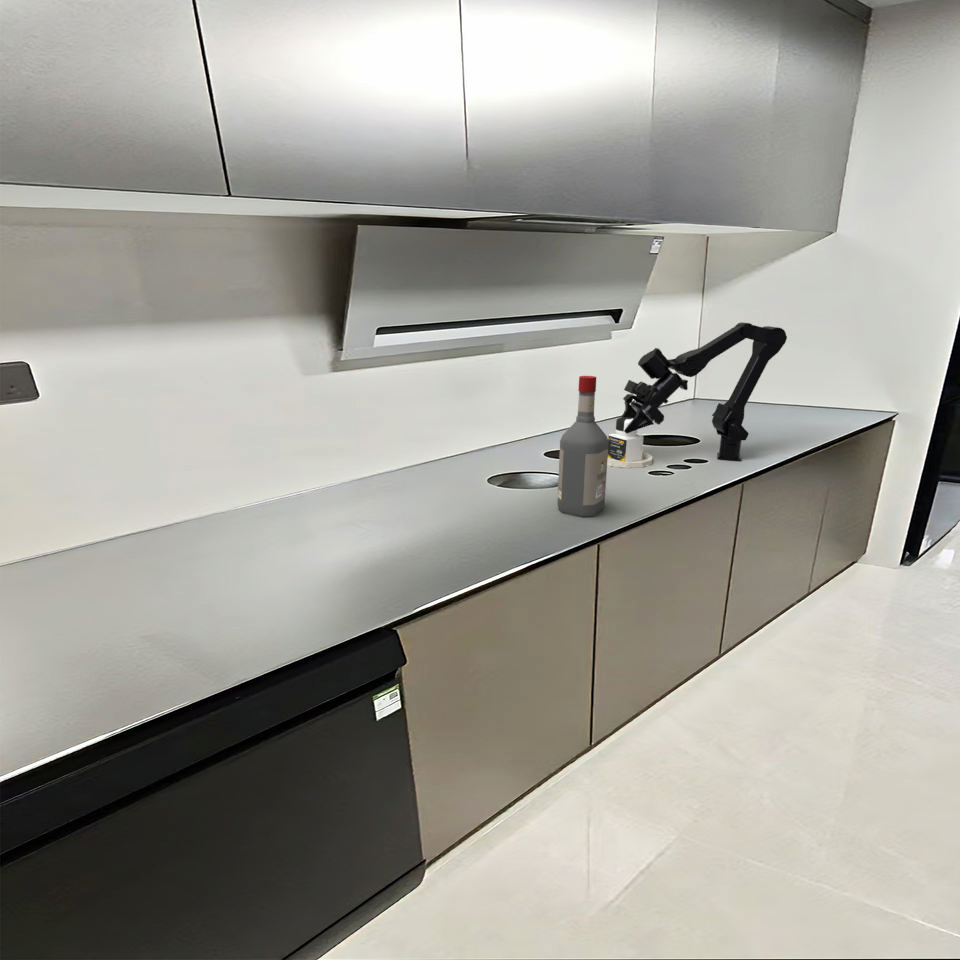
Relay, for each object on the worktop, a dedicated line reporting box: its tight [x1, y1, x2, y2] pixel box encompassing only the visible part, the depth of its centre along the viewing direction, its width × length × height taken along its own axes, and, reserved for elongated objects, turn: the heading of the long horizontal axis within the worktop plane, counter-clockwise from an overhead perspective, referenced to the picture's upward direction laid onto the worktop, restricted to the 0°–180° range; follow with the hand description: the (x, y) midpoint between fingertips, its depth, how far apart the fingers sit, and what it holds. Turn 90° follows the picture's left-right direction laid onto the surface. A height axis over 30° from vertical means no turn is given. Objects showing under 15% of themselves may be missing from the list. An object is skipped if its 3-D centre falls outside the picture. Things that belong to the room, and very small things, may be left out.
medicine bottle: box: [607, 416, 644, 462], centre depth 190 cm, size 7×7×12 cm
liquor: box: [557, 375, 609, 518], centre depth 146 cm, size 9×9×30 cm
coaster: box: [607, 451, 654, 467], centre depth 191 cm, size 16×16×2 cm
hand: (621, 429), depth 189 cm, fingers open, 6 cm apart
